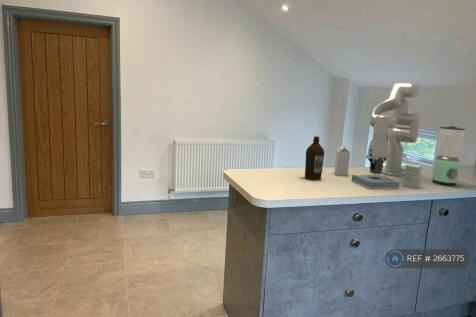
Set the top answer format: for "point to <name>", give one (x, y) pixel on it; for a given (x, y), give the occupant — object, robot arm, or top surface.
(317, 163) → the olive oil
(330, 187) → the top surface
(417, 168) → the supplement box
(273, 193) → the top surface
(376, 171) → the plug
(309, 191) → the top surface
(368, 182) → the socket plate
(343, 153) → the milk carton
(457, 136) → the mint green blender
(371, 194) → the top surface
